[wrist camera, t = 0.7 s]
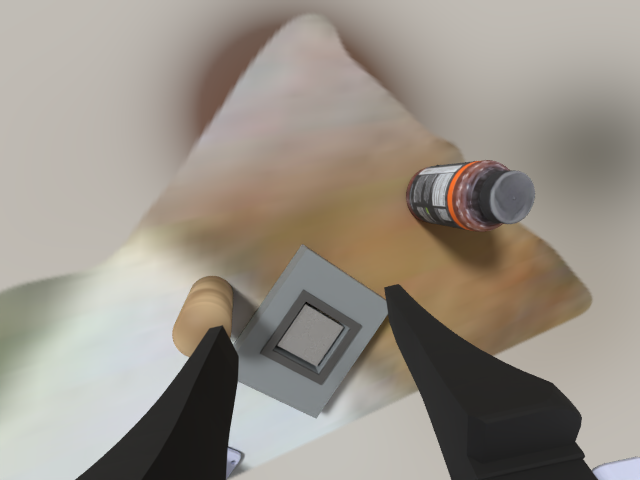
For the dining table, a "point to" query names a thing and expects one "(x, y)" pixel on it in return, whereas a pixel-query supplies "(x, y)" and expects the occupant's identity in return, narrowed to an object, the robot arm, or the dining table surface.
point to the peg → (203, 313)
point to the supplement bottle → (470, 195)
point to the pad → (310, 335)
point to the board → (278, 313)
